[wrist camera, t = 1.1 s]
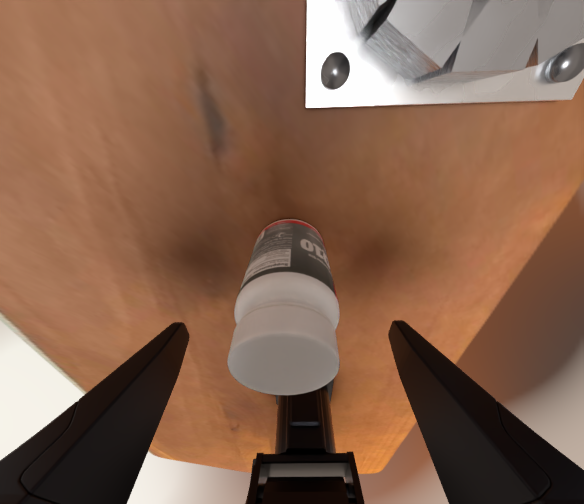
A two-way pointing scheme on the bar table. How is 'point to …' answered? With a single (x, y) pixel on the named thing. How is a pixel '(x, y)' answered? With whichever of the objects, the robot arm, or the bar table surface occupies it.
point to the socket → (442, 51)
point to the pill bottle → (286, 314)
